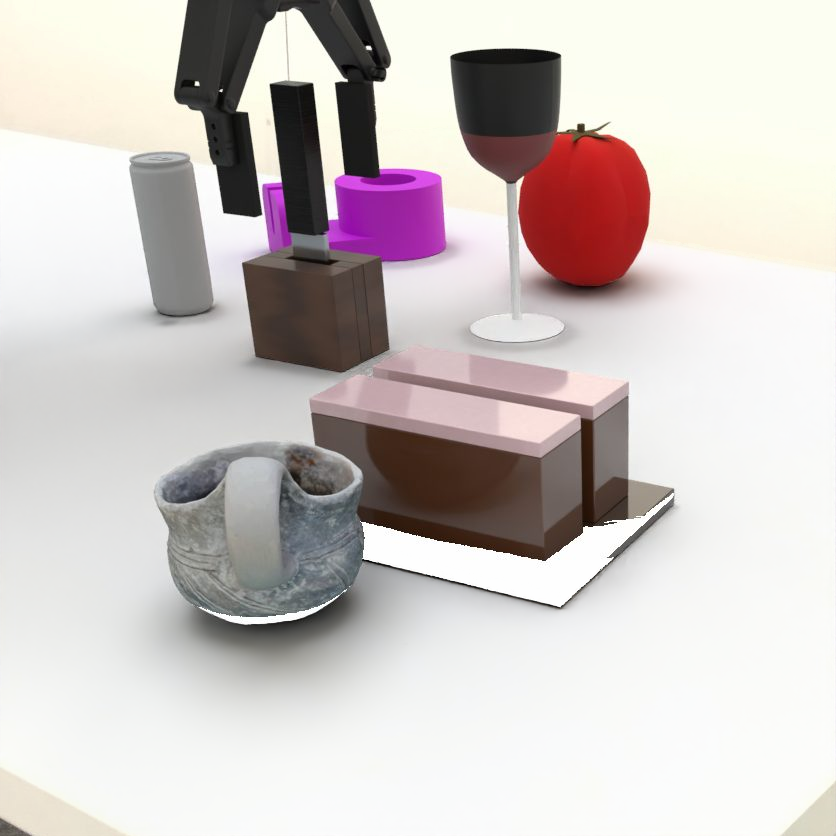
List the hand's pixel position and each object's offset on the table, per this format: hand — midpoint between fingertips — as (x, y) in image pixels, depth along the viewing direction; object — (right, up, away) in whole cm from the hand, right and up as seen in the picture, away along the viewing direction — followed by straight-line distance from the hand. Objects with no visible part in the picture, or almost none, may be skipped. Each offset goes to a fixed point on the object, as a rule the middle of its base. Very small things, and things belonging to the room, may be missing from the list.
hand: (306, 194), depth 95 cm
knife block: (0, -10, +6) cm, 12 cm away
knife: (0, -10, +6) cm, 12 cm away
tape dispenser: (-3, +5, +32) cm, 32 cm away
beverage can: (-14, -4, +15) cm, 21 cm away
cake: (+15, -25, -19) cm, 35 cm away
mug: (+6, -31, -29) cm, 43 cm away
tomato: (+19, 0, +23) cm, 30 cm away
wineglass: (+14, -7, +12) cm, 20 cm away
